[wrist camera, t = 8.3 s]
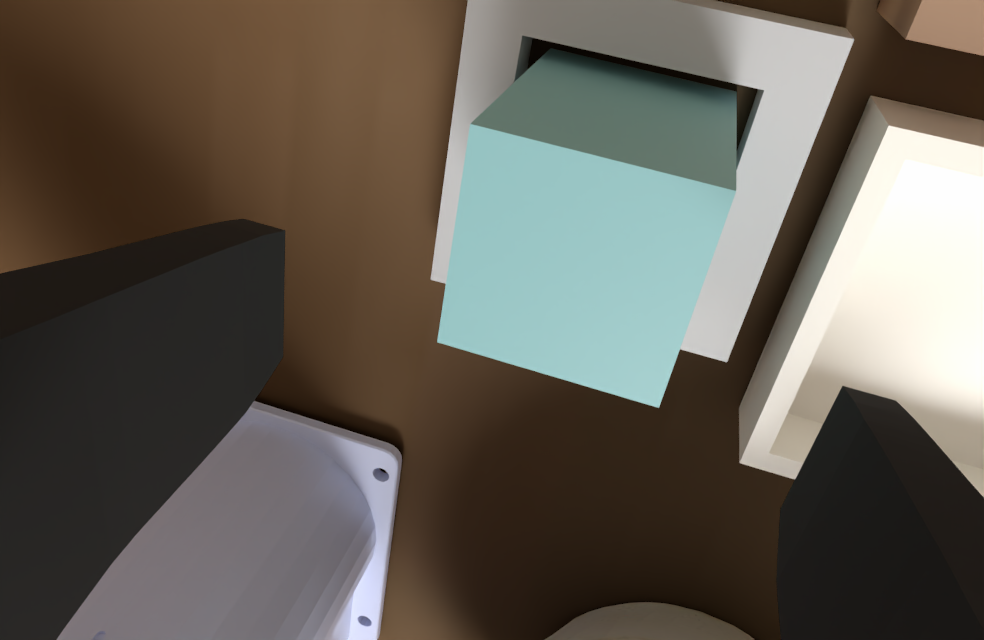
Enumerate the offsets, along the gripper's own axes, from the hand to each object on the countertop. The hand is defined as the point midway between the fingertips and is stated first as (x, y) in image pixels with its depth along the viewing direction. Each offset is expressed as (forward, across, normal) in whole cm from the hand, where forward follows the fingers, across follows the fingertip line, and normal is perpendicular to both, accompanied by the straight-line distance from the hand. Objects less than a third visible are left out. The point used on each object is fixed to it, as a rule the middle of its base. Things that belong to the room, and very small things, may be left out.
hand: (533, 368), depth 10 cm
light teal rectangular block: (+9, 0, 0) cm, 9 cm away
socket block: (+9, 0, 0) cm, 9 cm away
